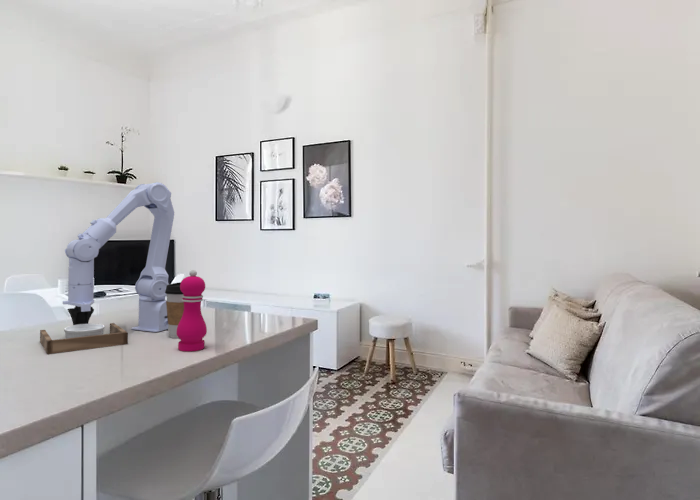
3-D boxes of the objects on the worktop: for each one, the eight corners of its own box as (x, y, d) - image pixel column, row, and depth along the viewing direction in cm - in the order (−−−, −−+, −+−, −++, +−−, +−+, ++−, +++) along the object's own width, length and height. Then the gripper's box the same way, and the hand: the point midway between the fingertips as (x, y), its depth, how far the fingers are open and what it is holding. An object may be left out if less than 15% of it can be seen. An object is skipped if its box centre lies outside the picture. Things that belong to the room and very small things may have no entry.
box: (40, 341, 108) (40, 330, 108) (113, 333, 120) (113, 323, 120) (47, 354, 97) (47, 341, 97) (127, 343, 109) (127, 332, 108)
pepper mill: (181, 344, 109) (182, 268, 109) (209, 345, 110) (211, 269, 110) (171, 352, 102) (173, 270, 102) (202, 352, 103) (204, 271, 102)
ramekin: (112, 342, 110) (112, 325, 110) (78, 349, 102) (78, 331, 102) (90, 337, 114) (90, 322, 114) (55, 344, 106) (56, 327, 106)
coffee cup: (202, 334, 122) (203, 283, 122) (181, 340, 114) (182, 285, 114) (178, 331, 125) (179, 281, 124) (157, 337, 117) (158, 283, 116)
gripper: (59, 282, 115) (58, 331, 115) (67, 287, 104) (66, 341, 104) (89, 281, 119) (88, 328, 120) (100, 286, 109) (99, 338, 109)
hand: (80, 334), depth 112 cm, fingers closed
